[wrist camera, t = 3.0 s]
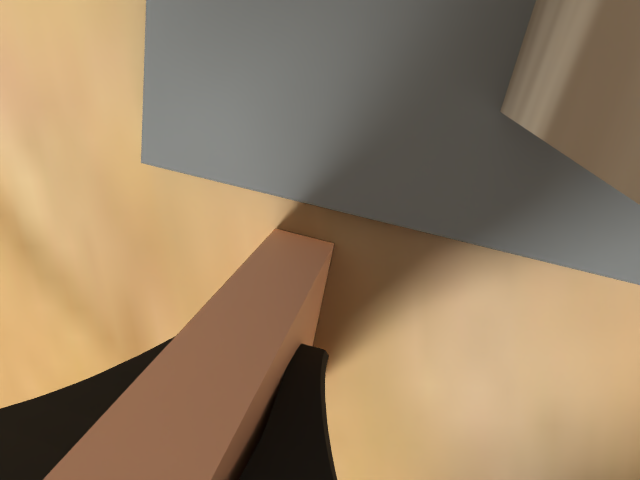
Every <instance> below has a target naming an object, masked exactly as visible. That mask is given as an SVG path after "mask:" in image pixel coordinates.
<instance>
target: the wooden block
mask: <svg viewBox="0 0 640 480" xmlns="http://www.w3.org/2000/svg"><path fill="white" fill-rule="evenodd" d="M500 112H501V113H503V114H504V115H506V116H507V117H509V118H510V119H512V120H513V121H515V122H516V123H518V124H519V125H521V126H522V127H524V128H525V129H527V130H528V131H530V132H531V133H533V134H534V135H536V136H537V137H539V138H540V139H542V140H543V141H545V142H546V143H548V144H549V145H551V146H552V147H554V148H555V149H557V150H558V151H560V152H561V153H563V154H564V155H566V156H567V157H569V158H570V159H572V160H573V161H575V162H576V163H578V164H579V165H581V166H582V167H584V168H585V169H587V170H588V171H590V172H591V173H593V174H594V175H596V176H597V177H599V178H600V179H602V180H603V181H605V182H606V183H608V184H609V185H611V186H612V187H614V188H615V189H617V190H618V191H620V192H621V193H623V194H624V195H626V196H627V197H629V198H630V199H632V200H633V201H635V202H636V203H638V204H639V205H640V0H536V2H535V5H534V8H533V11H532V14H531V18H530V21H529V24H528V27H527V30H526V33H525V36H524V39H523V42H522V45H521V48H520V52H519V55H518V58H517V61H516V64H515V67H514V70H513V73H512V76H511V79H510V82H509V86H508V89H507V92H506V95H505V98H504V101H503V104H502V107H501V110H500Z"/></svg>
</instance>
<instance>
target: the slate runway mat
mask: <svg viewBox="0 0 640 480" xmlns="http://www.w3.org/2000/svg"><path fill="white" fill-rule="evenodd" d="M535 2H536V0H146V26H145V57H144V89H143V120H142V152H141V163H143V164H148V165H152V166H156V167H160V168H164V169H168V170H172V171H176V172H180V173H184V174H188V175H193V176H197V177H201V178H205V179H209V180H213V181H217V182H221V183H225V184H229V185H233V186H237V187H242V188H246V189H250V190H254V191H258V192H262V193H266V194H270V195H274V196H278V197H282V198H286V199H291V200H295V201H299V202H303V203H307V204H311V205H315V206H319V207H323V208H327V209H331V210H336V211H340V212H344V213H348V214H352V215H356V216H360V217H364V218H368V219H372V220H376V221H380V222H385V223H389V224H393V225H397V226H401V227H405V228H409V229H413V230H417V231H421V232H425V233H429V234H434V235H438V236H442V237H446V238H450V239H454V240H458V241H462V242H466V243H470V244H474V245H478V246H483V247H487V248H491V249H495V250H499V251H503V252H507V253H511V254H515V255H519V256H523V257H528V258H532V259H536V260H540V261H544V262H548V263H552V264H556V265H560V266H564V267H568V268H572V269H577V270H581V271H585V272H589V273H593V274H597V275H601V276H605V277H609V278H613V279H617V280H621V281H626V282H630V283H634V284H638V285H640V205H639V204H638V203H636V202H635V201H633V200H632V199H630V198H629V197H627V196H626V195H624V194H623V193H621V192H620V191H618V190H617V189H615V188H614V187H612V186H611V185H609V184H608V183H606V182H605V181H603V180H602V179H600V178H599V177H597V176H596V175H594V174H593V173H591V172H590V171H588V170H587V169H585V168H584V167H582V166H581V165H579V164H578V163H576V162H575V161H573V160H572V159H570V158H569V157H567V156H566V155H564V154H563V153H561V152H560V151H558V150H557V149H555V148H554V147H552V146H551V145H549V144H548V143H546V142H545V141H543V140H542V139H540V138H539V137H537V136H536V135H534V134H533V133H531V132H530V131H528V130H527V129H525V128H524V127H522V126H521V125H519V124H518V123H516V122H515V121H513V120H512V119H510V118H509V117H507V116H506V115H504V114H503V113H501V112H500V110H501V107H502V104H503V101H504V98H505V95H506V92H507V89H508V86H509V82H510V79H511V76H512V73H513V70H514V67H515V64H516V61H517V58H518V55H519V52H520V48H521V45H522V42H523V39H524V36H525V33H526V30H527V27H528V24H529V21H530V18H531V14H532V11H533V8H534V5H535Z"/></svg>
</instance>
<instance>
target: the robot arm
mask: <svg viewBox="0 0 640 480" xmlns="http://www.w3.org/2000/svg"><path fill="white" fill-rule="evenodd" d="M174 338H175V337H173V338H171V339H169V340H168V341H166V342H164V343H162V344H160V345H158V346H156V347H154V348H152V349H150V350H148V351H146V352H145V353H143V354H141V355H139V356H137V357H134V358H132V359H130V360H128V361H126V362H123V363H121V364H119V365H117V366H115V367H113V368H110V369H108V370H106V371H104V372H102V373H100V374H97V375H95V376H93V377H90V378H88V379H86V380H83V381H81V382H78V383H76V384H73V385H70V386H68V387H65V388H62V389H59V390H57V391H54V392H51V393H49V394H46V395H43V396H40V397H37V398H34V399H31V400H28V401H24V402H21V403H18V404H14V405H11V406H8V407H4V408H1V409H0V480H43V479H44V478H45V477H46V476H47V475H48V474H49V473H50V471H51V470H52V469H53V468H54V467H55V466H56V465H57V464H58V463H59V462H60V461H61V460H62V459H63V457H64V456H65V455H66V454H67V453H68V452H69V451H70V450H71V449H72V448H73V447H74V446H75V444H76V443H77V442H78V441H79V440H80V439H81V438H82V437H83V436H84V435H85V434H86V433H87V432H88V430H89V429H90V428H91V427H92V426H93V425H94V424H95V423H96V422H97V421H98V420H99V419H100V417H101V416H102V415H103V414H104V413H105V412H106V411H107V410H108V409H109V408H110V407H111V406H112V405H113V403H114V402H115V401H116V400H117V399H118V398H119V397H120V396H121V395H122V394H123V393H124V392H125V390H126V389H127V388H128V387H129V386H130V385H131V384H132V383H133V382H134V381H135V380H136V379H137V377H138V376H139V375H140V374H141V373H142V372H143V371H144V370H145V369H146V368H147V367H148V366H149V365H150V363H151V362H152V361H153V360H154V359H155V358H156V357H157V356H158V355H159V354H160V353H161V352H162V350H163V349H164V348H165V347H166V346H167V345H168V344H169V343H170V342H171V341H172V340H173V339H174ZM328 357H329V355H328V354H327V352H326V351H325V350H323V349H319V348H316V347H312V346H309V345H305V344H302V343H301V344H300V346H299V347H298V349H297V350H296V352H295V353H294V355H293V357H292V359H291V360H290V362H289V364H288V366H287V368H286V369H285V372H284V375H283V378H282V381H281V384H280V387H279V390H278V393H277V396H276V399H275V402H274V405H273V407H272V410H271V413H270V416H269V419H268V422H267V424H266V427H265V429H264V432H263V434H262V436H261V438H260V440H259V442H258V444H257V446H256V448H255V450H254V452H253V454H252V456H251V458H250V460H249V461H248V463H247V465H246V467H245V469H244V471H243V473H242V475H241V476H240V478H239V480H337V477H336V472H335V467H334V462H333V457H332V452H331V446H330V439H329V433H328V425H327V415H326V403H325V371H326V366H327V362H328Z"/></svg>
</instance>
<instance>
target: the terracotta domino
mask: <svg viewBox="0 0 640 480" xmlns="http://www.w3.org/2000/svg"><path fill="white" fill-rule="evenodd" d="M333 247H334V243H331V242H327V241H323V240H319V239H315V238H311V237H307V236H303V235H299V234H295V233H291V232H287V231H283V230H279V229H274V231H273V232H272V233H271V234H270V235H269V236H268V237H267V238H266V239H265V240H264V241H263V242H262V244H261V245H260V246H259V247H258V248H257V249H256V250H255V251H254V252H253V253H252V254H251V255H250V257H249V258H248V259H247V260H246V261H245V262H244V263H243V264H242V265H241V266H240V267H239V268H238V269H237V271H236V272H235V273H234V274H233V275H232V276H231V277H230V278H229V279H228V280H227V281H226V282H225V284H224V285H223V286H222V287H221V288H220V289H219V290H218V291H217V292H216V293H215V294H214V295H213V296H212V298H211V299H210V300H209V301H208V302H207V303H206V304H205V305H204V306H203V307H202V308H201V309H200V311H199V312H198V313H197V314H196V315H195V316H194V317H193V318H192V319H191V320H190V321H189V322H188V323H187V325H186V326H185V327H184V328H183V329H182V330H181V331H180V332H179V333H178V334H177V335H176V336H175V338H174V339H173V340H172V341H171V342H170V343H169V344H168V345H167V346H166V347H165V348H164V349H163V350H162V352H161V353H160V354H159V355H158V356H157V357H156V358H155V359H154V360H153V361H152V362H151V363H150V365H149V366H148V367H147V368H146V369H145V370H144V371H143V372H142V373H141V374H140V375H139V376H138V377H137V379H136V380H135V381H134V382H133V383H132V384H131V385H130V386H129V387H128V388H127V389H126V390H125V392H124V393H123V394H122V395H121V396H120V397H119V398H118V399H117V400H116V401H115V402H114V403H113V405H112V406H111V407H110V408H109V409H108V410H107V411H106V412H105V413H104V414H103V415H102V416H101V417H100V419H99V420H98V421H97V422H96V423H95V424H94V425H93V426H92V427H91V428H90V429H89V430H88V432H87V433H86V434H85V435H84V436H83V437H82V438H81V439H80V440H79V441H78V442H77V443H76V444H75V446H74V447H73V448H72V449H71V450H70V451H69V452H68V453H67V454H66V455H65V456H64V457H63V459H62V460H61V461H60V462H59V463H58V464H57V465H56V466H55V467H54V468H53V469H52V470H51V471H50V473H49V474H48V475H47V476H46V477H45V478H44V479H43V480H239V478H240V476H241V475H242V473H243V471H244V469H245V467H246V465H247V463H248V461H249V460H250V458H251V456H252V454H253V452H254V450H255V448H256V446H257V444H258V442H259V440H260V438H261V436H262V434H263V432H264V429H265V427H266V424H267V422H268V419H269V416H270V413H271V410H272V407H273V405H274V402H275V399H276V396H277V393H278V390H279V387H280V384H281V381H282V378H283V375H284V372H285V369H286V368H287V366H288V364H289V362H290V360H291V359H292V357H293V355H294V353H295V352H296V350H297V349H298V347H299V346H300V344H301V343H302V344H305V345H309V346H312V347H313V342H314V337H315V333H316V328H317V323H318V318H319V314H320V309H321V304H322V299H323V294H324V290H325V285H326V280H327V275H328V271H329V266H330V261H331V256H332V252H333Z"/></svg>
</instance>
